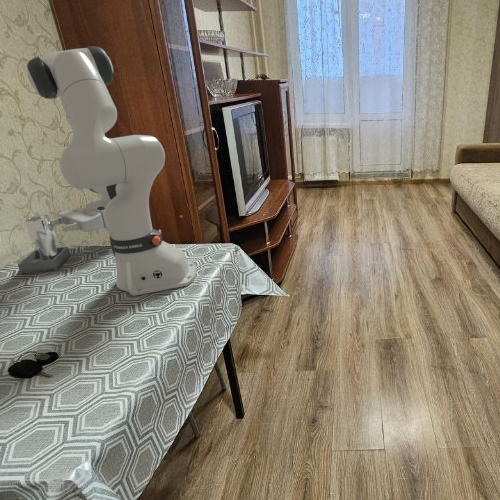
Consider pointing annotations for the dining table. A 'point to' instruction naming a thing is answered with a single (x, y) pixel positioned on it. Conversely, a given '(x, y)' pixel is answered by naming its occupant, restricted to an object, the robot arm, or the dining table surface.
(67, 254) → the box
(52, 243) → the silver tall rounded piece
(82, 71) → the robot arm
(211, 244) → the dining table surface
